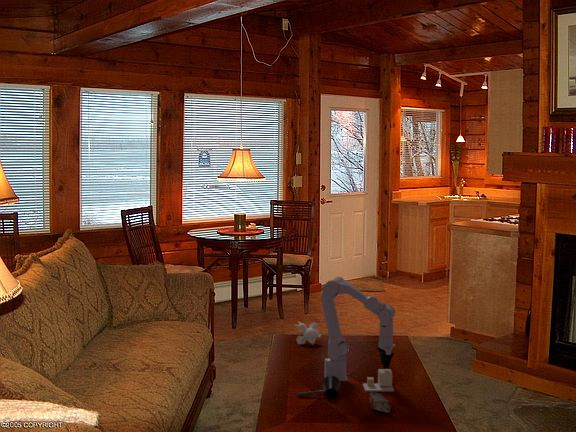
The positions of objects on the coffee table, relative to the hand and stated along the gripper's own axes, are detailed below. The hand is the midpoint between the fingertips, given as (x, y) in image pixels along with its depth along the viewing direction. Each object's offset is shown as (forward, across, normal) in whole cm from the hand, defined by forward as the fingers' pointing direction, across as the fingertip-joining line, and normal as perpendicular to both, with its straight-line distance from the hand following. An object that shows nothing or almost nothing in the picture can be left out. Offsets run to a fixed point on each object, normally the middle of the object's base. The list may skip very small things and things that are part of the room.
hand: (385, 366), depth 308 cm
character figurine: (+9, +63, +29) cm, 70 cm away
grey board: (+9, -2, +3) cm, 10 cm away
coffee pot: (+9, -10, +29) cm, 32 cm away
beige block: (+8, 0, 0) cm, 8 cm away
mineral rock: (+9, -24, +6) cm, 26 cm away
